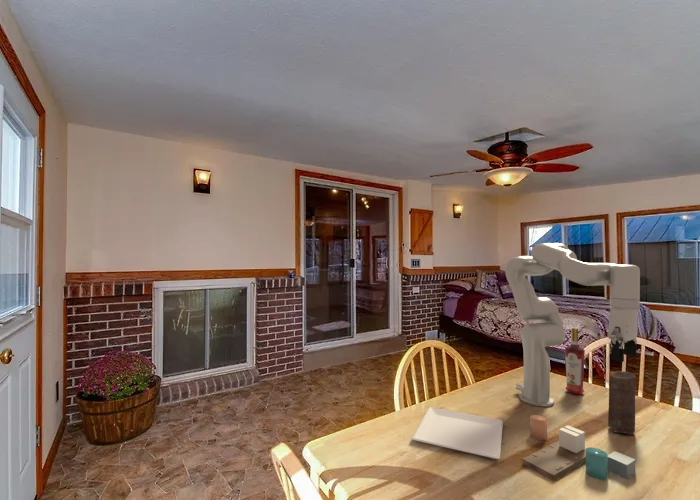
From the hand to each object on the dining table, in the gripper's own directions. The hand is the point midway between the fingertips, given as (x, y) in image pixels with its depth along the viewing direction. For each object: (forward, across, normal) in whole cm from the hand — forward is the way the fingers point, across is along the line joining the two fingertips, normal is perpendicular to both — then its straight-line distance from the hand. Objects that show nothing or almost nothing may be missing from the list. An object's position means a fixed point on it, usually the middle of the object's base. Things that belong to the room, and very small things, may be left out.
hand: (623, 358), depth 113 cm
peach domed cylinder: (+28, +16, -18) cm, 37 cm away
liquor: (+28, -33, -29) cm, 52 cm away
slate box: (+28, +16, +5) cm, 33 cm away
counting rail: (+28, +25, -7) cm, 38 cm away
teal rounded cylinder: (+28, +23, +2) cm, 36 cm away
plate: (+29, +37, -34) cm, 58 cm away
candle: (+28, -10, -4) cm, 30 cm away
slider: (+26, +18, -7) cm, 32 cm away
